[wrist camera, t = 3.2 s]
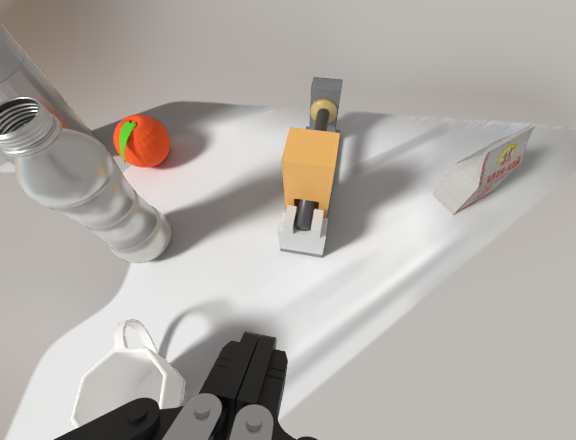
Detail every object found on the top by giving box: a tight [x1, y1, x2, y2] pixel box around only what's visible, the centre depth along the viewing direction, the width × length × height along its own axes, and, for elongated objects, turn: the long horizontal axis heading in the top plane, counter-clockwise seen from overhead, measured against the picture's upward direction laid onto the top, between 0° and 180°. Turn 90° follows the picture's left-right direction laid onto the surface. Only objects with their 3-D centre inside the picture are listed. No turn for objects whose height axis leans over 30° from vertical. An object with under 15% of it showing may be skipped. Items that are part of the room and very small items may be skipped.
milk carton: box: [433, 124, 535, 215], centre depth 34 cm, size 4×7×10 cm, turn 120°
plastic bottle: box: [0, 96, 172, 263], centre depth 27 cm, size 6×7×20 cm
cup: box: [71, 319, 186, 428], centre depth 26 cm, size 7×10×8 cm
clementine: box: [113, 115, 170, 167], centre depth 40 cm, size 8×7×7 cm
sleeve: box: [282, 127, 340, 218], centre depth 30 cm, size 4×5×10 cm
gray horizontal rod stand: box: [278, 77, 342, 257], centre depth 36 cm, size 20×5×9 cm, turn 169°
